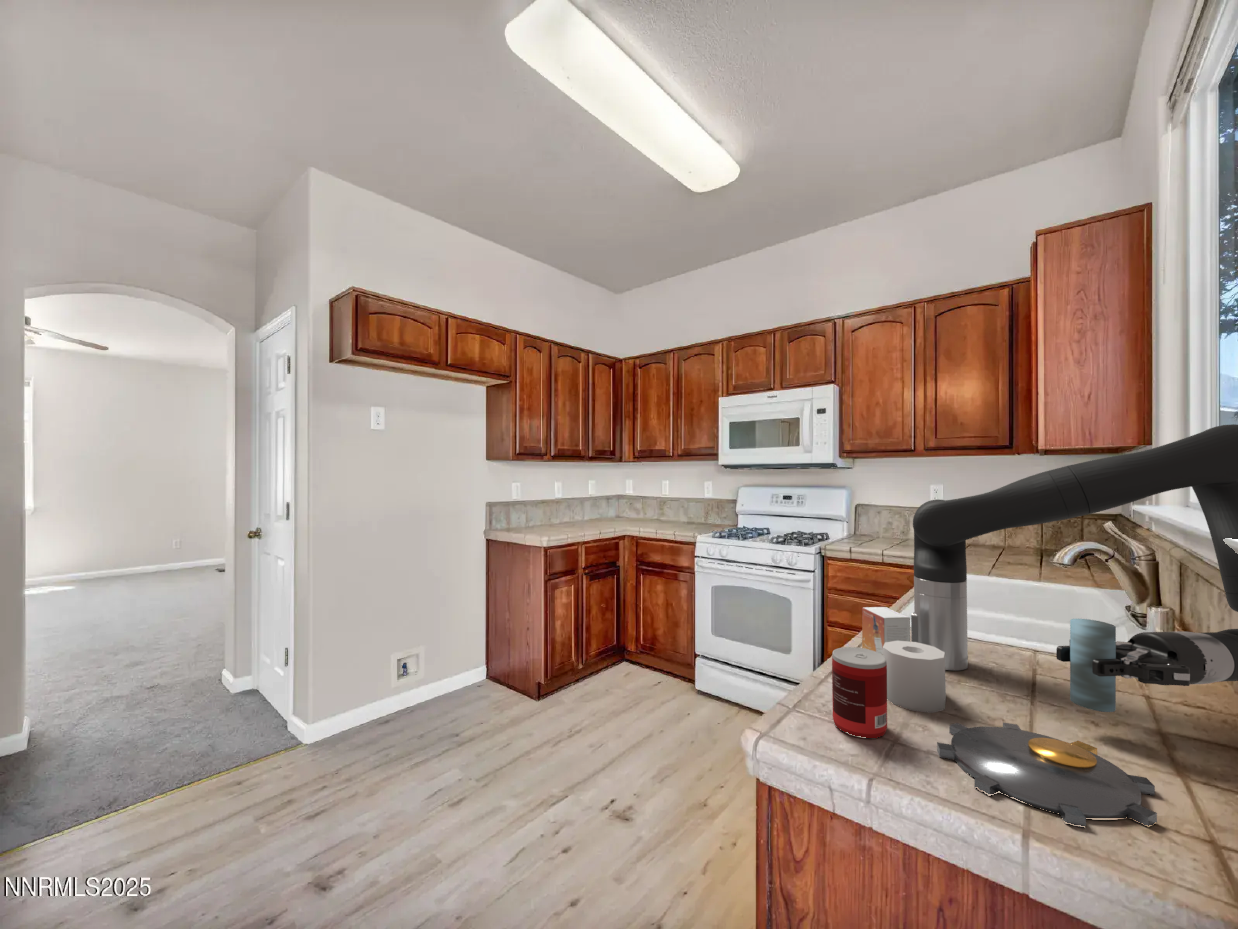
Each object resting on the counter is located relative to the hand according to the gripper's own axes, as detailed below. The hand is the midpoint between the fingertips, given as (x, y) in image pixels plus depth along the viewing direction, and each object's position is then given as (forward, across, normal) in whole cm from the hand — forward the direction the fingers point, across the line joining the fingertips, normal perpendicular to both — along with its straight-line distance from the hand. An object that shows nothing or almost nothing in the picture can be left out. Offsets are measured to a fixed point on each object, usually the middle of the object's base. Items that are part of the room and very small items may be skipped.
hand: (1076, 660), depth 77 cm
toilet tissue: (+15, -14, +12) cm, 24 cm away
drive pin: (-3, 0, +6) cm, 7 cm away
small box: (+11, -30, +12) cm, 34 cm away
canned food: (+31, -6, +12) cm, 33 cm away
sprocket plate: (+14, +8, +11) cm, 20 cm away
